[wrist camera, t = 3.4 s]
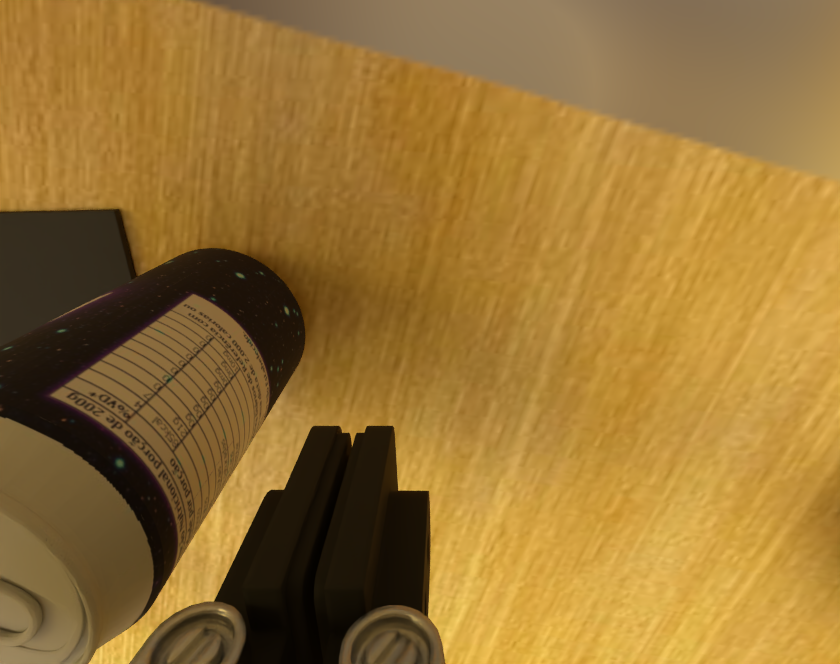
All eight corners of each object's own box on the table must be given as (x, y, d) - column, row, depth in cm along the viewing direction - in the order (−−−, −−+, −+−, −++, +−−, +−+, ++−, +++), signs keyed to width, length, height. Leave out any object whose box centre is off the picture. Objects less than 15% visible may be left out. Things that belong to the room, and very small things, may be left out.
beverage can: (189, 211, 17) (-258, 372, 6) (337, 292, 18) (169, 557, 7) (139, 341, 19) (-266, 635, 8) (274, 409, 20) (68, 756, 9)
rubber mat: (-164, 215, 18) (-174, 217, 18) (119, 209, 18) (114, 210, 17) (-65, 431, 22) (-71, 434, 21) (175, 431, 21) (171, 435, 21)
